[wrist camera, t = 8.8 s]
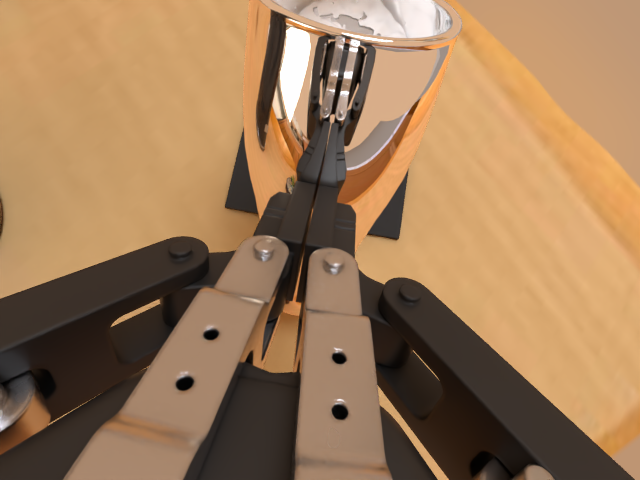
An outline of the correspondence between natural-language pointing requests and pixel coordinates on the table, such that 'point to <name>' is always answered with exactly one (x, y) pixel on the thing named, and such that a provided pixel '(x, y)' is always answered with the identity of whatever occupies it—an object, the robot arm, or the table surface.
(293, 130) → the copper cup
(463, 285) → the table surface
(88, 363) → the robot arm
